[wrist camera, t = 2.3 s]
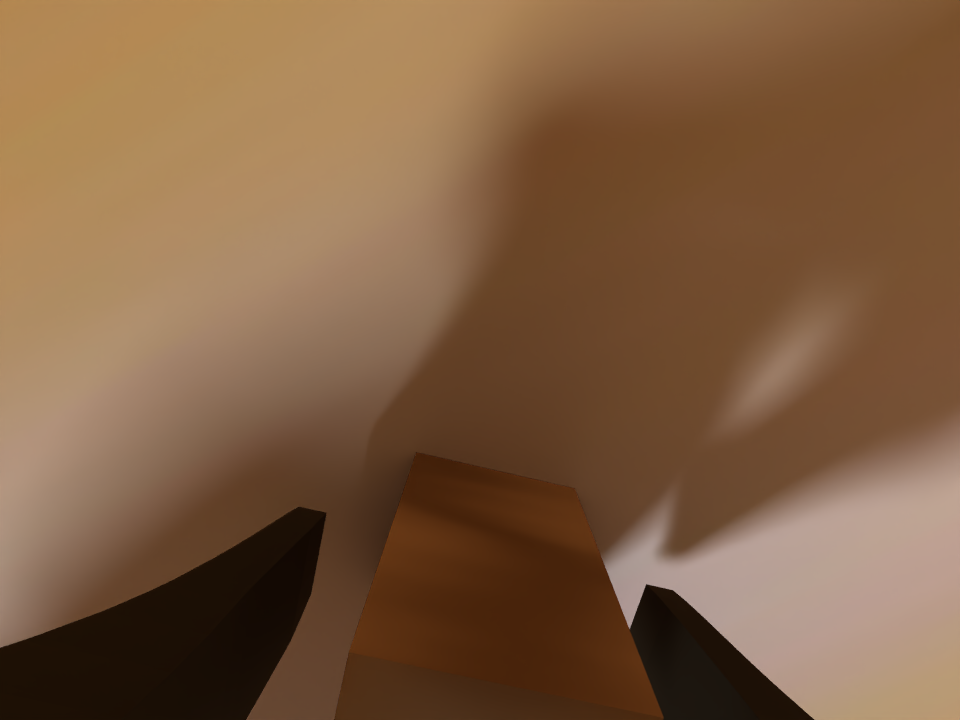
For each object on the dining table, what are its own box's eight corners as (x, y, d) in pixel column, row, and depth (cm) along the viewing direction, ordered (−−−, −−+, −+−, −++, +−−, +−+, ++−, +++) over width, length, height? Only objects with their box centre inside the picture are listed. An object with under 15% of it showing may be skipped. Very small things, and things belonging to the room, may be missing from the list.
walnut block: (384, 590, 13) (296, 888, 7) (416, 452, 12) (349, 652, 6) (532, 622, 13) (574, 938, 7) (574, 488, 12) (664, 718, 6)
